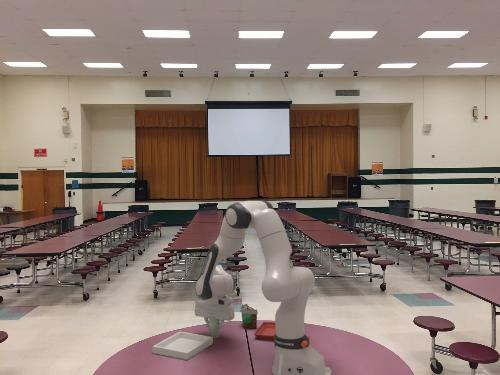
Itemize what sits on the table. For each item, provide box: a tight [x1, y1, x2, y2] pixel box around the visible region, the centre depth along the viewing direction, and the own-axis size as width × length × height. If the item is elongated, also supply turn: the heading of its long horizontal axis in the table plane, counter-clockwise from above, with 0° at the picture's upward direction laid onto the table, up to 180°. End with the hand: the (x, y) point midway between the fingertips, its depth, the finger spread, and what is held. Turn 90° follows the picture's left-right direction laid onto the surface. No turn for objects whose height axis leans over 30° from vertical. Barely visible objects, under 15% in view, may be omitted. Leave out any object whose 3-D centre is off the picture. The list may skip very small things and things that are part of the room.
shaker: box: [208, 313, 221, 340], centre depth 203 cm, size 5×5×12 cm
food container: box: [239, 303, 258, 330], centre depth 216 cm, size 12×6×10 cm, turn 25°
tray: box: [151, 331, 214, 361], centre depth 189 cm, size 18×20×3 cm
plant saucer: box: [253, 321, 275, 341], centre depth 204 cm, size 18×18×3 cm
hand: (214, 327), depth 203 cm, fingers closed on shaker, 5 cm apart
